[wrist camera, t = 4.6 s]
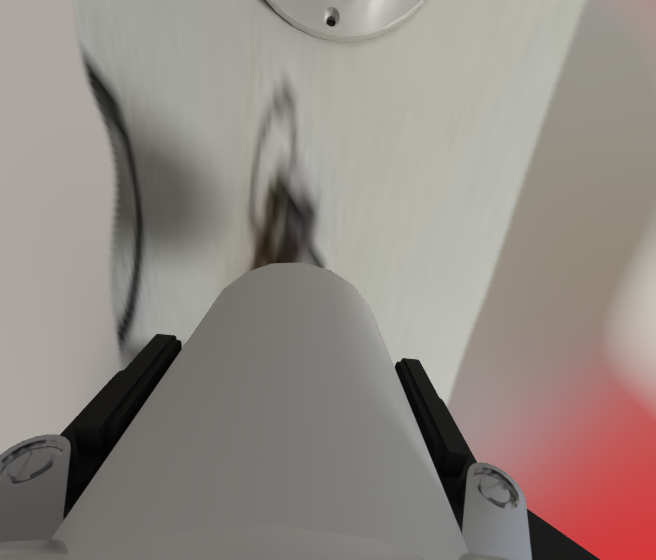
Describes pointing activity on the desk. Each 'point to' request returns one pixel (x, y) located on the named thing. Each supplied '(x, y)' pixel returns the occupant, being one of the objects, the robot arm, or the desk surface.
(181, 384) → the can
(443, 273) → the desk surface
